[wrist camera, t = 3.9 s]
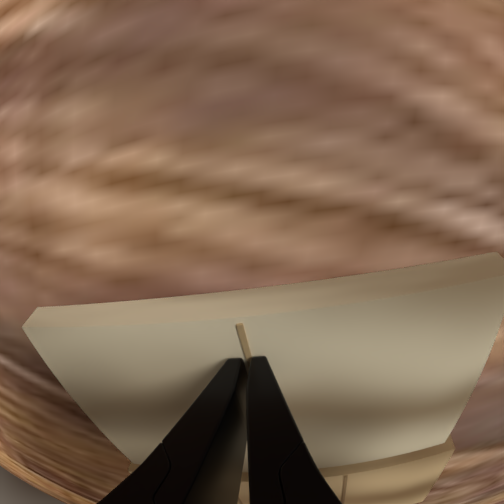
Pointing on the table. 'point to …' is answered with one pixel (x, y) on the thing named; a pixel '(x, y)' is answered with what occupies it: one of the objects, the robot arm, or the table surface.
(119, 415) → the beige grooved panel
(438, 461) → the laid board
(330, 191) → the table surface
